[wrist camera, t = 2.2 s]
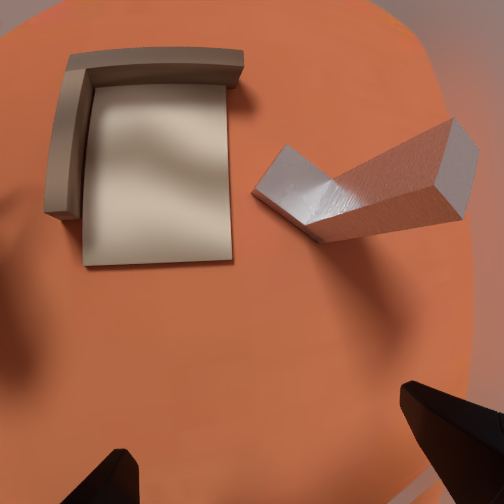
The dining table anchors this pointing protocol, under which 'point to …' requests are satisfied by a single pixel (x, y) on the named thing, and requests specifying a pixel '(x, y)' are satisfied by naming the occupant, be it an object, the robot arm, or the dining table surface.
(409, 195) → the bracket
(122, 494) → the robot arm
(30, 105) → the dining table surface
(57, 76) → the dining table surface
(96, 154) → the corner fixture
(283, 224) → the dining table surface
